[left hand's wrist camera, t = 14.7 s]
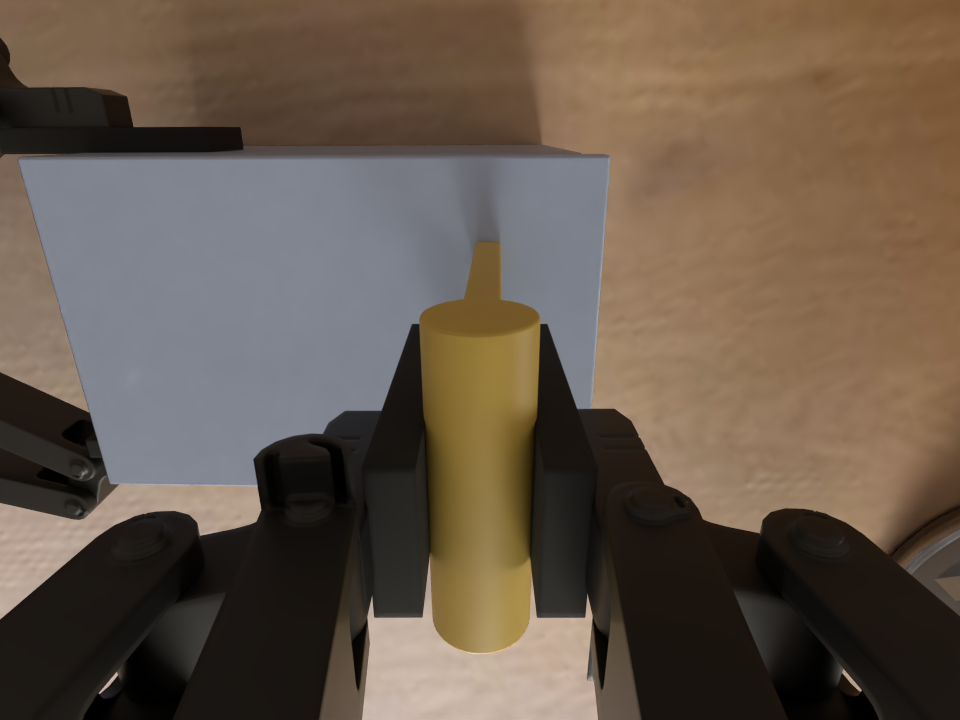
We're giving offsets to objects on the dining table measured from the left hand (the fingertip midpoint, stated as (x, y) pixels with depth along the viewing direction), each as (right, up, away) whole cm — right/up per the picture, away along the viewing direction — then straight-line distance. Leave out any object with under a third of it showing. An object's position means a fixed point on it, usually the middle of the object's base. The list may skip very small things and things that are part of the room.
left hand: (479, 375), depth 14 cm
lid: (-4, +1, +3) cm, 5 cm away
